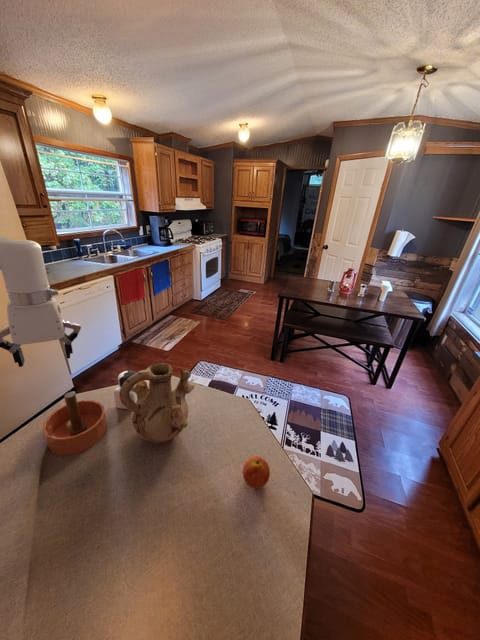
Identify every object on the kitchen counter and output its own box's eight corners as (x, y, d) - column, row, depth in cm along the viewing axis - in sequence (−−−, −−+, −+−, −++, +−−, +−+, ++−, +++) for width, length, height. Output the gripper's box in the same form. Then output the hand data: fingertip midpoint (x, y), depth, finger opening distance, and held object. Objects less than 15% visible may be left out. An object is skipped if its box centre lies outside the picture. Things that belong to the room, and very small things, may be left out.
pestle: (70, 440, 73) (60, 402, 68) (69, 429, 77) (60, 392, 71) (87, 434, 76) (79, 397, 70) (86, 424, 79) (78, 388, 74)
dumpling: (74, 424, 76) (72, 417, 77) (65, 429, 75) (63, 421, 76) (77, 426, 78) (75, 419, 79) (68, 430, 77) (67, 423, 78)
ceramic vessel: (187, 460, 71) (187, 387, 61) (117, 460, 69) (105, 386, 59) (194, 412, 88) (194, 349, 78) (137, 412, 86) (130, 348, 76)
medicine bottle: (145, 396, 93) (142, 369, 88) (135, 410, 86) (132, 381, 82) (126, 394, 93) (122, 367, 89) (115, 407, 87) (111, 379, 82)
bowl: (45, 464, 67) (40, 448, 64) (49, 424, 79) (45, 409, 76) (109, 442, 74) (106, 426, 72) (104, 408, 86) (101, 394, 84)
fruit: (250, 464, 71) (252, 443, 68) (272, 477, 68) (276, 456, 65) (236, 484, 66) (239, 463, 62) (260, 500, 62) (264, 478, 59)
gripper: (75, 289, 65) (84, 346, 72) (-17, 294, 57) (4, 359, 63) (75, 298, 60) (86, 360, 66) (-27, 305, 51) (-3, 376, 57)
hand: (46, 359), depth 65 cm, fingers open, 9 cm apart
